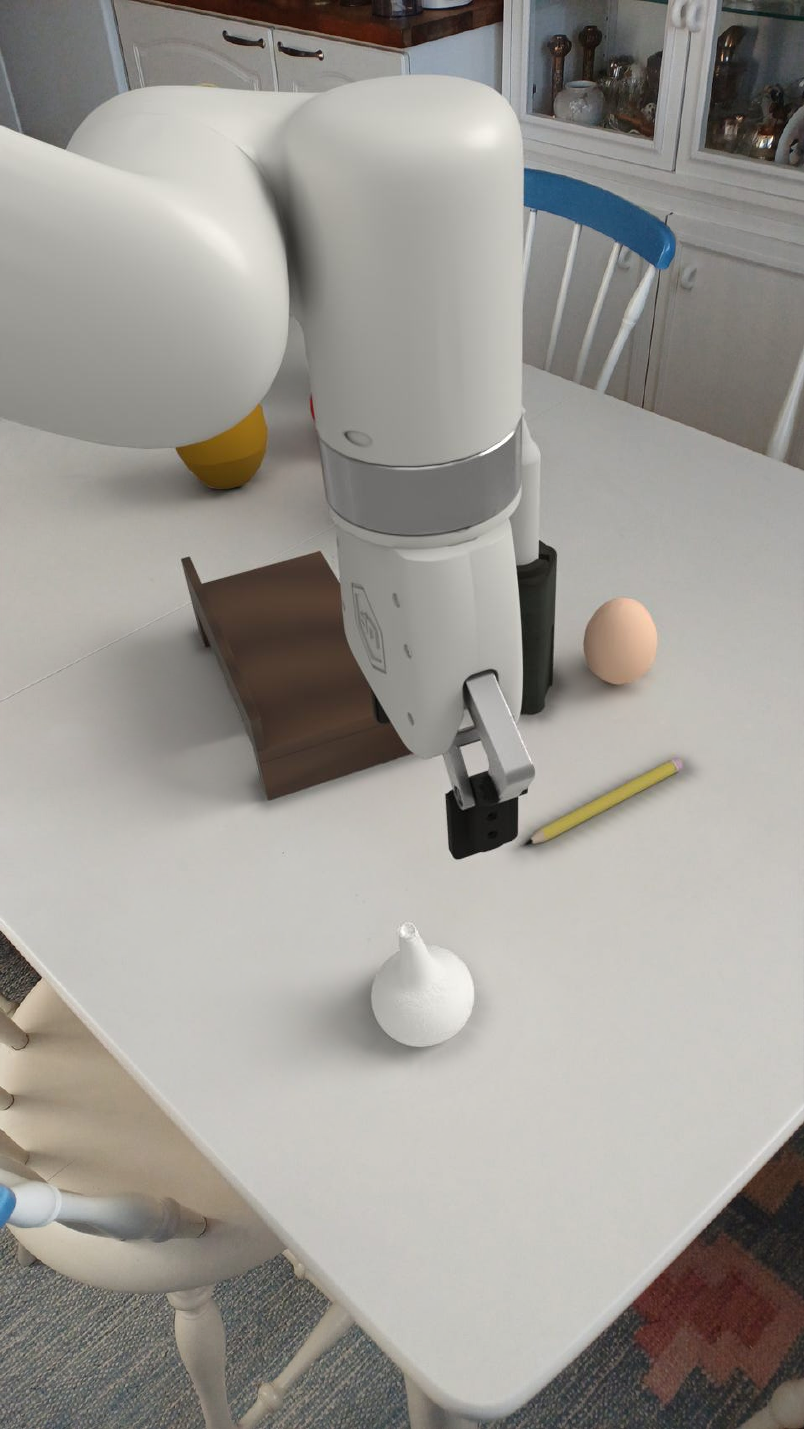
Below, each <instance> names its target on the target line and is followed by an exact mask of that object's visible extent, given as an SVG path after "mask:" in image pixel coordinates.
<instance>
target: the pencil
mask: <svg viewBox="0 0 804 1429" xmlns="http://www.w3.org/2000/svg"><path fill="white" fill-rule="evenodd" d="M683 767H684V766H683V762H682V761H681V760H680V758H678V757H674V758H672V759H669V760H668V761H667V762H664V763H663V764H661V765H659V766H656V767H655V768H653V769H651V770H649V771H648V772H646V773H643V774H642V775H640V776H638V777H636V778H634V779H632V780H630V781H628V782H626V783H625V784H623V785H621V786H619V787H617V788H615V789H613V790H611V791H609V792H607V793H606V794H604V795H601V796H600V797H598V798H596V799H594V800H592V801H591V802H589V803H586V804H584V805H583V806H581V807H579V808H577V809H575V810H573V811H571V812H569V813H568V814H566V815H563V816H561V817H560V818H558V819H556V820H554V821H552V822H549V823H548V824H546V825H545V826H542V827H541V828H539V829H538V830H536V831H535V833H534V834H533V835H531V837H530V838H529V839H528V840H527V841H526V842H525V843H524V844H523V845H522V846H528V845H534V844H539V843H545V842H547V841H549V840H551V839H553V838H555V837H557V836H559V835H560V834H562V833H565V832H566V831H568V830H570V829H572V828H574V827H576V826H578V825H579V824H581V823H583V822H585V821H587V820H589V819H591V818H592V817H595V816H597V815H598V814H600V813H602V812H604V811H606V810H608V809H610V808H612V807H613V806H615V805H617V804H620V803H621V802H623V801H625V800H627V799H629V798H631V797H632V796H634V795H636V794H638V793H640V792H641V791H643V790H645V789H647V788H649V787H651V786H654V785H655V784H657V783H659V782H660V781H662V780H664V779H666V778H668V777H670V776H672V775H674V774H676V773H678V772H680V771H681V770H683Z"/></svg>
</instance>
